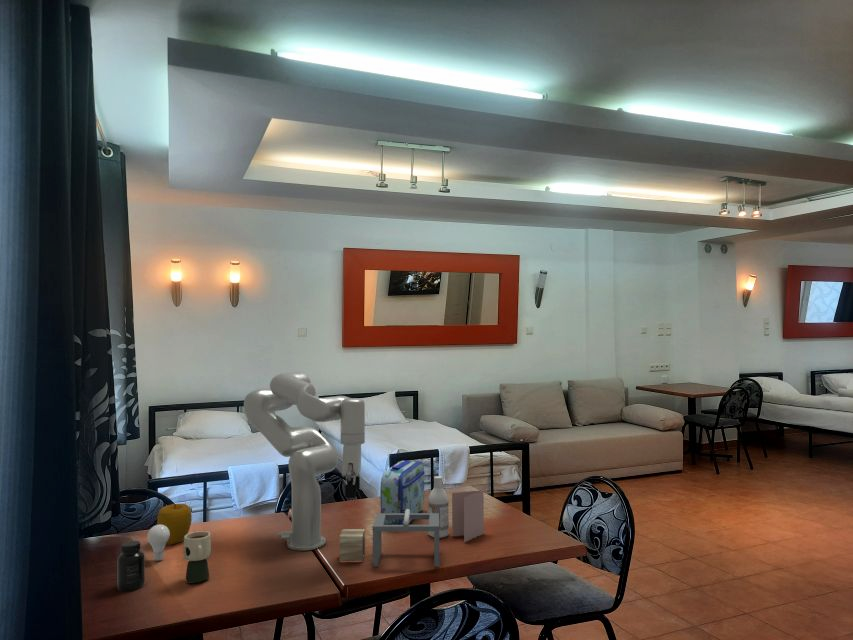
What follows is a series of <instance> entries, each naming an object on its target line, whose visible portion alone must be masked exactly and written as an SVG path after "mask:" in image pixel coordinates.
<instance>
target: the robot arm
mask: <svg viewBox="0 0 853 640" xmlns="http://www.w3.org/2000/svg"><path fill="white" fill-rule="evenodd" d="M294 405H295V406H296V408H297V410H298V412H299V413H300V415H301V416H303V417H304V418H306V419H309V420H312V421H314V422H317V423H326V422H331V421H338V420H339V421H340V444H341V445H343V446H342V447H343V448H342V464H341V466H342V468H341V476H342V478H345V484H344V485H345V486H344V489H345V490H344V493H345V494H344V496H345V498H346V499H355V498H357V490H360V488H361V486H360V484H361V483H360V481H361V477H360V472H361V469H362V468H361V467H362V445H364V444H365V443H366V441H365V438H366V433H365V431H366V429H365V428H366V427H365V425H366V421H365V417H366V415H365V413H366V412H365V411H366V409H365V408H366V407H365V406H366V403H365V400H364V399H362V398H358V397H357V398H356V397H355V398H354V397H353V398H351V397H348V396H346V395H336V396H335V395H334V396H327V397H317V396H316V388H315V386H314V385H313V384H312V382H311V379H310V377H309V376H308V375H307V374H305V373H304V372H299V371H298V372H285V373H280V374H276V375H274V377H272V379H271V380H270V383H269V387H265V388H259V389H255V390H253V391H250V392H249V393H247V395H246V396H245V397H244V400H243V409H244V414H245V417H246V418H247V420H248V422H249V423H250V424H251V426H253V427H254V428H255V429H256V430H257V431H258V432H259V433H260V434H261V435H263V437H264V438H266V440H267V441H268V443H270V444H271V446H272V447H273V448H274V449H275V450H276V451H277V452H278V454H280V455H281V456H283V457H285V458H288V457H289V459H288V472H289V478H290V483H291V484H290V485H291V529H290V530H288V531H286V530H285V531H284V530H282V531H281V530H280V531H278V532H279V533H278V537H279V538H280V539H281V540H287V542H286V545H287V548H288V549H290V550H294V551H300V552H301V551H304V552H305V551H312V550H316V548H317V547H320V546H322V545H323V546H325V545H326V543H327V539H326V538H325V536H322V494H321V493H322V490H321V486H320V484H319V482H318V480H317V478H316V477H317V476H319V475H324V474H326V473H330V472H333V470H335V469H336V468H337V466H338V463H339V457H338V456H339V455H338V453H337V450H336V449H335V447H334V446H333V445H332V444H331V443H330V442H329V441H328V440H327V439H326V438H325V437H324V436H323V435H322V434H321V432H319V431H318V430H317V429H316V428H314V427H312V426H309V425H301V426H297V427H296V426H295V427H293V426H290V425H289V424H288V423H287V422H286V421H285V420H284V418H282V417H281V416H279V415H277V414H275V413H273V412H280V411H284V410H288V409H289V408H291V407H292V406H294ZM324 544H325V545H324ZM323 546H322V547H323ZM320 548H321V547H320ZM317 549H318V548H317Z"/></svg>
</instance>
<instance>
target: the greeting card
mask: <svg viewBox="0 0 853 640" xmlns="http://www.w3.org/2000/svg"><path fill="white" fill-rule="evenodd" d="M484 500H485V499H484V490H473V491H471V490H470V491H460V492H459V491H458V492H452V493H451V503H452V505H451V511H452V512H451V514H452V519H451V522H452V523H451V526H452V527H451V529H452V530H451V531H452V537H453V536H455V537H461V536H460V535H464V536H463V543H464V542H465V543H467V542H468V540H469V541H471V540H473V539H475V538H478V537H480V536H482V535H484V533H485V532H484V530H485V528H484V527H485V525H484V524H485V523H484V522H485V521H484V520H485V519H484V515H485V513H484V512H485V511H484V509H485V508H484V507H485V506H484V504H485V503H484ZM477 536H478V537H477ZM472 538H473V539H472ZM470 539H471V540H470ZM466 541H467V542H466Z"/></svg>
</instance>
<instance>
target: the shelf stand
mask: <svg viewBox="0 0 853 640" xmlns="http://www.w3.org/2000/svg"><path fill="white" fill-rule="evenodd" d="M387 519H404V522H403V524H404V525H397V524H396V525H394V524H385V520H387ZM409 519H413V520H428V524H410V523H409ZM429 531H434V537H433V538H434V539H433V543H434V544H433V549H434V550H433V552H434V553H433V555H434V557H433V558H434V563H433V564H434V568H435V567H437V568H438V567H439V568H440V538H439V513H428V512H427V513H426V512H425V513H421V512H419V513H410V510H409V509H406V510H405V513H381V512H379V513H376V515H375V518H374V521H373V524H372V567H373V566H378V567H379V564H378V563H380V560H381V559H380V558H381V555H382V546H383V545H382V543H383V542H382V532H393V533H394V532H397V533H398V532H429ZM379 559H380V560H379Z"/></svg>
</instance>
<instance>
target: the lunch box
mask: <svg viewBox="0 0 853 640" xmlns="http://www.w3.org/2000/svg"><path fill="white" fill-rule="evenodd" d="M424 468H425V467H424V463H423V462H422V461H421V460H419V461H415V460H413V461H411V460H401V461H399V462H397V463H396V464H394V465H392V466H391V467H389V468H388V469H386V470H385V471H384V472H383V473H382V475H381V480H380V487H379V488H380V490H379V491H380V493H379V494H380V495H379V496H380V513H405V510H406V509H409V510H410V513H421V511H422V509H423V505H424V502H425V501H424V500H425V474H426V473H425V469H424ZM413 520H414V519H409V524H410V523H411V522H412V521H413ZM403 522H404V519H387V520H385V524H384V525H404V524H403Z"/></svg>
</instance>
